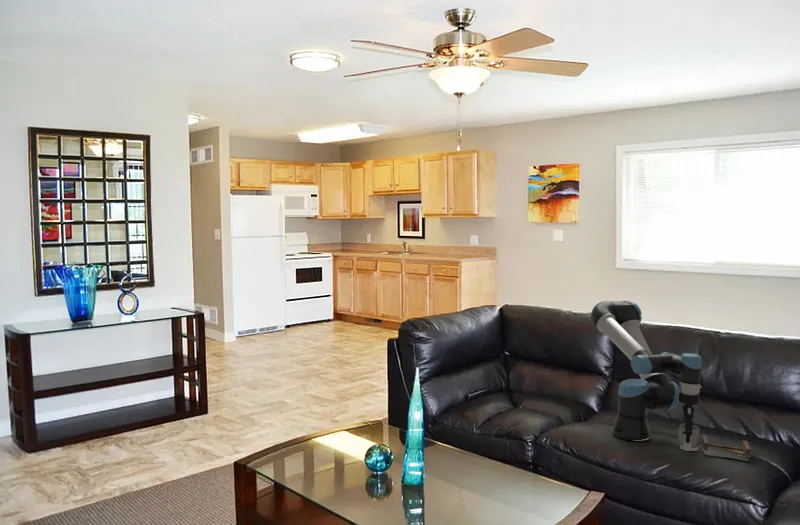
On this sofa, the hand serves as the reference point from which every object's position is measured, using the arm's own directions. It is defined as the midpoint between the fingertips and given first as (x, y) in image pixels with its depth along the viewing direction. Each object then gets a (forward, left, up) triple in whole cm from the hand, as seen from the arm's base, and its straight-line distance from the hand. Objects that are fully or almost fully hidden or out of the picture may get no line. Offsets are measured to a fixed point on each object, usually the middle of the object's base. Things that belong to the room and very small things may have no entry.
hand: (686, 444), depth 254 cm
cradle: (+14, -1, -1) cm, 14 cm away
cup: (0, 0, -1) cm, 1 cm away
